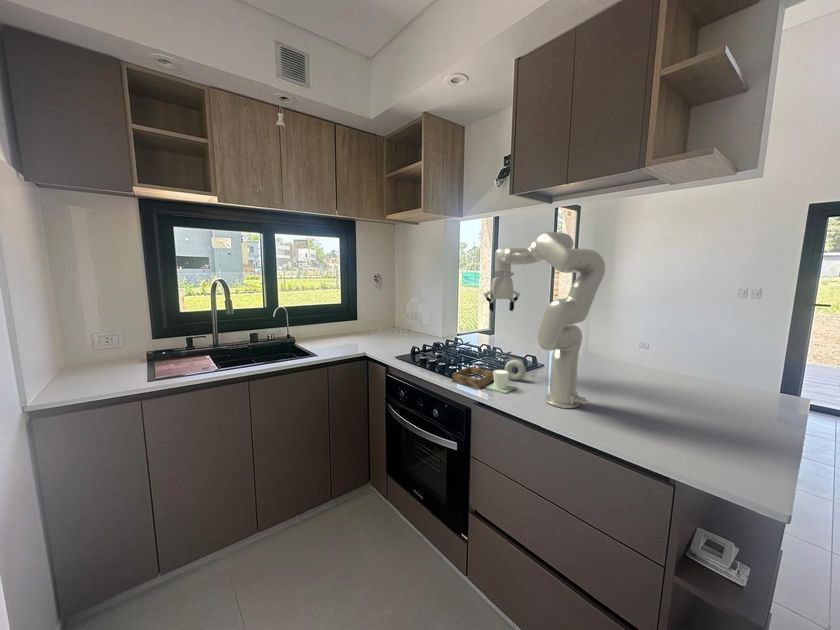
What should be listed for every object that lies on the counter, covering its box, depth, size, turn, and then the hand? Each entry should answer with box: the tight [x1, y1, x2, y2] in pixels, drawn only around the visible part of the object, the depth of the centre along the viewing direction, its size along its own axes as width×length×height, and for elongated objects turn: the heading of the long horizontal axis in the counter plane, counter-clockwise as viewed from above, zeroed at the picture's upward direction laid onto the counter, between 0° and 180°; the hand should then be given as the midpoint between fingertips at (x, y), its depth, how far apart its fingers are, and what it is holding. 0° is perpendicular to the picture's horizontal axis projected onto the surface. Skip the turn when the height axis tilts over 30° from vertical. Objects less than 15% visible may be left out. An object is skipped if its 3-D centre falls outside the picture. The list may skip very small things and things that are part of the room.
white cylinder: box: [492, 369, 509, 389], centre depth 149 cm, size 7×7×7 cm
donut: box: [504, 359, 527, 381], centre depth 160 cm, size 10×4×10 cm, turn 58°
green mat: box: [484, 382, 517, 395], centre depth 150 cm, size 10×10×1 cm
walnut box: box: [451, 366, 494, 390], centre depth 159 cm, size 15×15×4 cm
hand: (501, 310), depth 163 cm, fingers open, 9 cm apart
